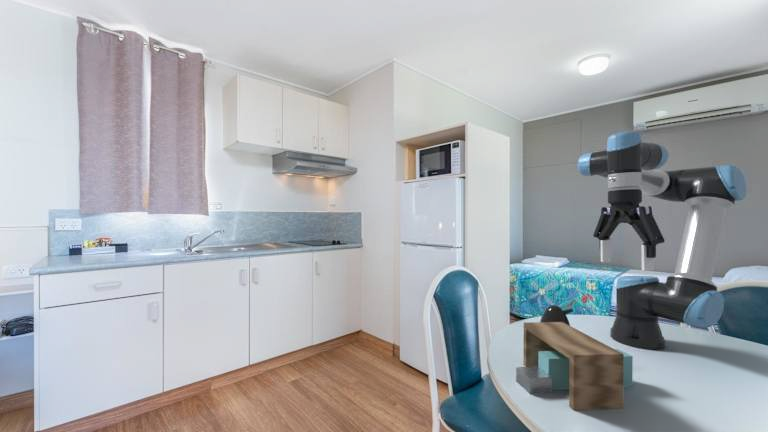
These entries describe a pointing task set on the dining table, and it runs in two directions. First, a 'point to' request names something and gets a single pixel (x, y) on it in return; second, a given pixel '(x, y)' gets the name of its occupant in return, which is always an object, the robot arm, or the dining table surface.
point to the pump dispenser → (555, 314)
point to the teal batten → (560, 364)
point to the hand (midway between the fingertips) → (625, 265)
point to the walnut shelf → (579, 364)
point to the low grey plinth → (533, 379)
